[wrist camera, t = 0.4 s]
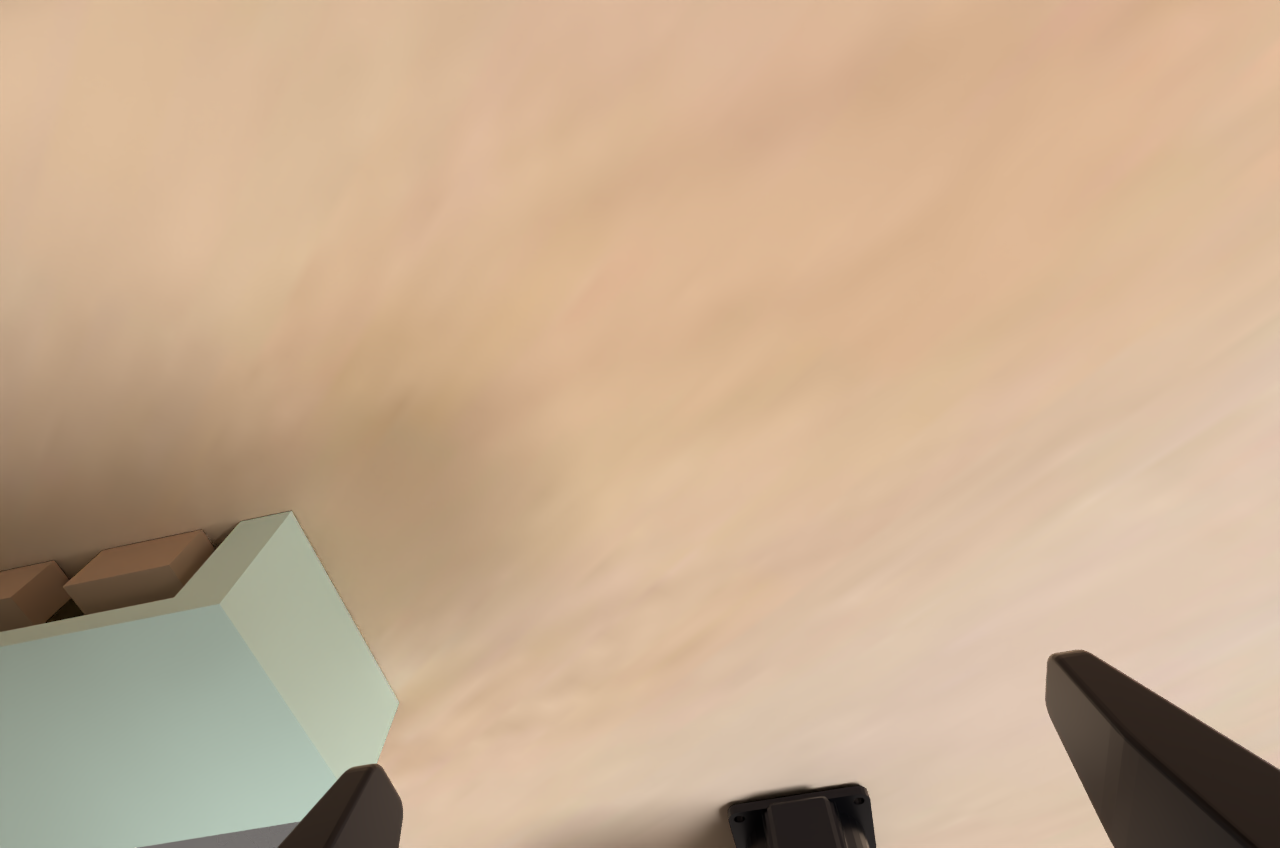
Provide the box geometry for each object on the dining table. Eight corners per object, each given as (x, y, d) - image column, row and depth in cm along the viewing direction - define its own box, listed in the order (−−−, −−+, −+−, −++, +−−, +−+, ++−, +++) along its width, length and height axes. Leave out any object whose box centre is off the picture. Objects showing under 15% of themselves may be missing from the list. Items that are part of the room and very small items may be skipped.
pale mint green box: (399, 702, 29) (358, 812, 25) (40, 766, 31) (-56, 878, 26) (291, 510, 25) (219, 603, 20) (-122, 597, 26) (-269, 699, 22)
